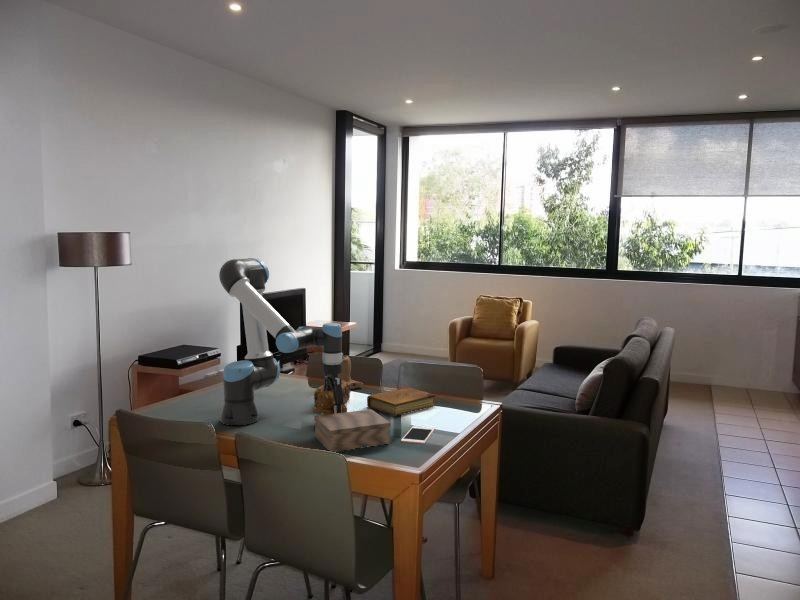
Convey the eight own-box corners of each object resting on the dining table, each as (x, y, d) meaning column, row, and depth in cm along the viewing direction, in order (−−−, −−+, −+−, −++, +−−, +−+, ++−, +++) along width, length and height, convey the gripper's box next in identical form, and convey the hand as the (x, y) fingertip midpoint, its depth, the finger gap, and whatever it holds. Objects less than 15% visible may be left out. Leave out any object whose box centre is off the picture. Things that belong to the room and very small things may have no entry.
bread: (329, 398, 291) (329, 376, 290) (351, 400, 288) (351, 378, 287) (313, 409, 273) (312, 386, 272) (336, 411, 270) (335, 388, 269)
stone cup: (325, 386, 313) (325, 356, 311) (344, 382, 321) (344, 353, 319) (344, 392, 302) (344, 361, 300) (363, 388, 309) (363, 357, 308)
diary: (406, 399, 292) (406, 386, 292) (435, 407, 278) (435, 394, 278) (367, 407, 277) (367, 394, 276) (395, 417, 263) (395, 403, 262)
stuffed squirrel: (321, 418, 260) (321, 386, 259) (353, 421, 256) (353, 389, 254) (310, 425, 251) (310, 392, 249) (343, 428, 246) (343, 395, 245)
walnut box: (330, 453, 220) (329, 430, 219) (314, 437, 236) (314, 416, 235) (390, 444, 229) (390, 422, 228) (371, 429, 246) (371, 409, 245)
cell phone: (435, 430, 247) (435, 427, 246) (424, 444, 229) (424, 442, 229) (413, 428, 249) (413, 425, 249) (400, 442, 232) (400, 440, 232)
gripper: (351, 367, 240) (352, 424, 243) (332, 356, 262) (332, 408, 264) (332, 369, 237) (333, 426, 240) (314, 358, 259) (315, 410, 261)
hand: (333, 416), depth 252 cm, fingers closed on stuffed squirrel, 12 cm apart
